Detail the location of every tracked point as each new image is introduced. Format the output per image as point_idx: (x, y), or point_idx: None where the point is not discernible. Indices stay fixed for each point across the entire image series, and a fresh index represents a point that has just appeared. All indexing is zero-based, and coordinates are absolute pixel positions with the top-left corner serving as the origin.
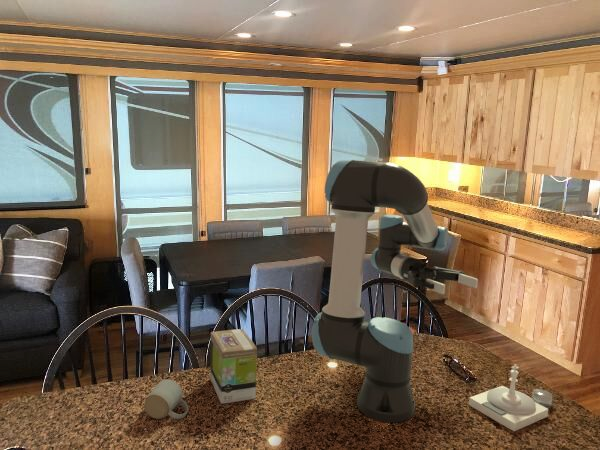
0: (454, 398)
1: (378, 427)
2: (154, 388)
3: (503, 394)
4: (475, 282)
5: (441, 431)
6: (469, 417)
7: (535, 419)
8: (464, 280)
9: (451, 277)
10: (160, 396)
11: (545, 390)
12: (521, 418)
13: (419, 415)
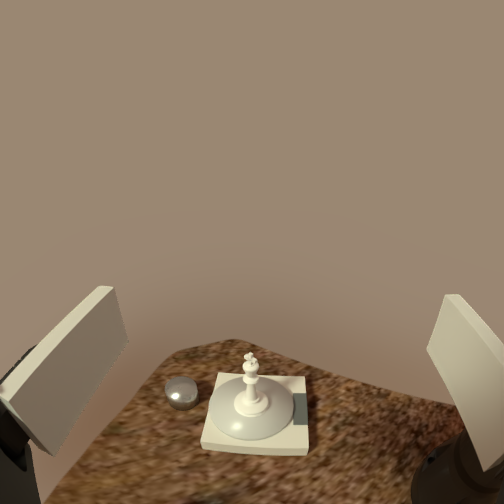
0: (313, 480)
1: None
2: None
3: (258, 409)
4: (117, 311)
5: (405, 417)
6: (338, 430)
7: None
8: (70, 385)
9: (24, 499)
10: None
11: (165, 388)
12: (283, 378)
13: (415, 456)
